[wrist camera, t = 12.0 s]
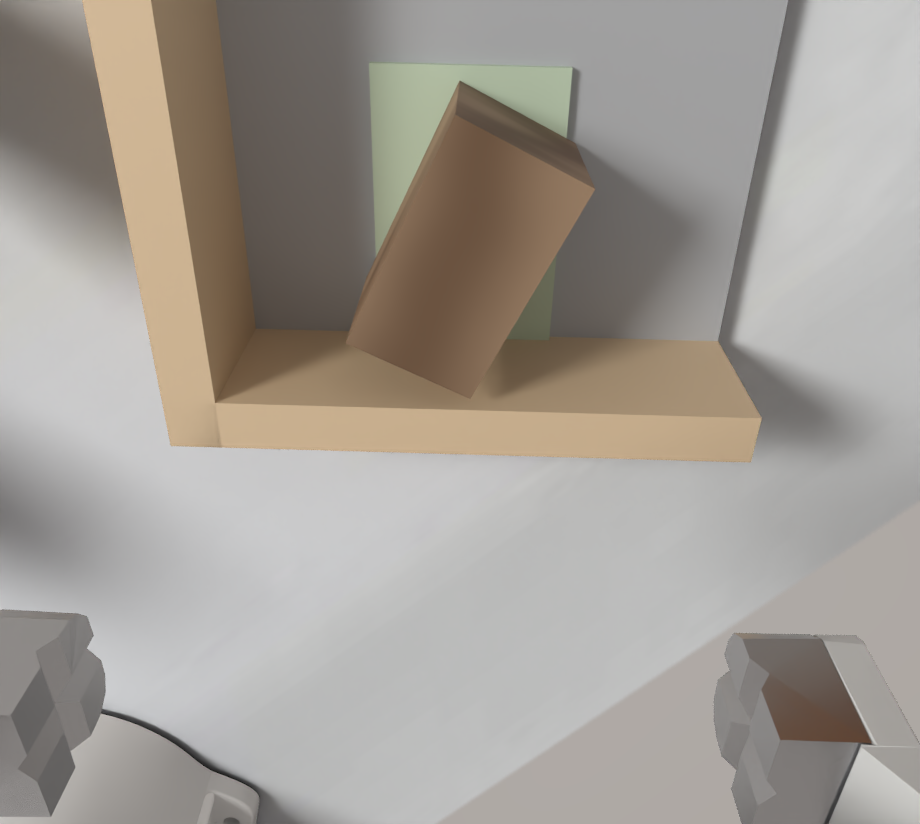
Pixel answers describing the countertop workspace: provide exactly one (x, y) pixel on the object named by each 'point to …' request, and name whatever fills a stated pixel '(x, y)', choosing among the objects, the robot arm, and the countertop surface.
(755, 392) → the countertop surface
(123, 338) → the countertop surface
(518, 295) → the walnut block
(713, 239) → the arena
